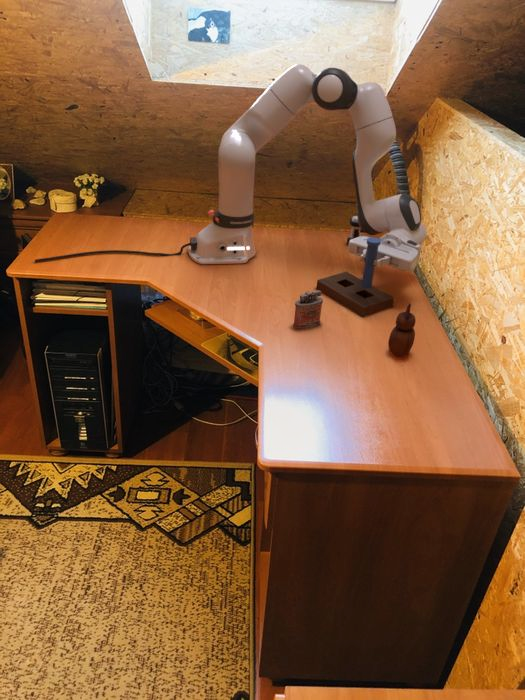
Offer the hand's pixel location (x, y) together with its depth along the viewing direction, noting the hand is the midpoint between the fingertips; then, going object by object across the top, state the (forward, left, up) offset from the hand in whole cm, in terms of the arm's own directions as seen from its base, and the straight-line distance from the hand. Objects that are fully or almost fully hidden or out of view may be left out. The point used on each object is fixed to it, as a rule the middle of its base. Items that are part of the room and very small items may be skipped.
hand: (369, 261), depth 159 cm
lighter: (-21, -7, -14) cm, 26 cm away
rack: (0, +4, -13) cm, 14 cm away
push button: (+20, +40, -14) cm, 47 cm away
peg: (+1, 0, -8) cm, 8 cm away
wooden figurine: (-4, -26, -14) cm, 29 cm away
